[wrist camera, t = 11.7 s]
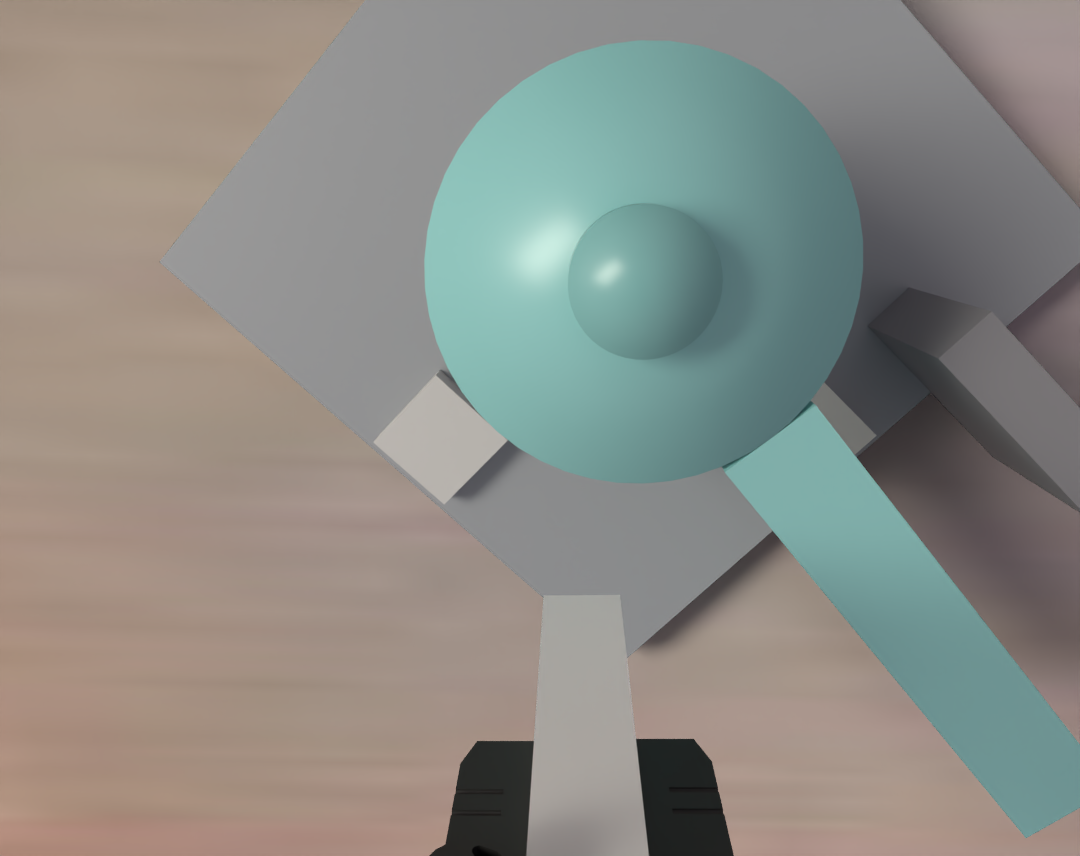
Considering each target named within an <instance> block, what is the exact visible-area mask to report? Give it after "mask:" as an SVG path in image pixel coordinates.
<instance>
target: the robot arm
mask: <svg viewBox="0 0 1080 856" xmlns="http://www.w3.org/2000/svg"><path fill="white" fill-rule="evenodd" d="M430 856H734V855H733V851H732V846H731V842H730V838H729V834H728V829H727V825H726V821H725V816H724V814H723V808H722V804H721V799H720V795H719V792H718V786H717V782H716V778H715V774H714V769H713V765H712V761H711V760H710V759H709V758H708V756H707V755H706V754H705V753H704V751H703V750H702V749H701V748H700V746H699V745H698V744H697V743H696V741H695V740H694V739H636V735H635V726H634V717H633V708H632V699H631V690H630V681H629V671H628V662H627V653H626V644H625V635H624V626H623V617H622V608H621V599H620V595H544V599H543V613H542V628H541V643H540V658H539V673H538V688H537V703H536V718H535V733H534V741H477V742H476V744H475V745H474V746H473V748H472V749H471V750H470V752H469V753H468V754H467V756H466V757H465V758H464V760H463V761H462V762H461V764H460V770H459V775H458V780H457V786H456V794H455V796H454V802H453V807H452V815H451V818H450V823H449V829H448V834H447V839H446V845H444V846H442V847H440V848H438V849H436V850H435V851H434V852H433V853H432V854H431V855H430Z"/></svg>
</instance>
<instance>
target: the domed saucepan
mask: <svg viewBox="0 0 1080 856" xmlns="http://www.w3.org/2000/svg"><path fill="white" fill-rule="evenodd" d="M424 269H425V292H426V298H427V305H428V312H429V317H430V321H431V324H432V328H433V331H434V335H435V338H436V342H437V344H438V347H439V349H440V351H441V354H442V356H443V358H444V361H445V363H446V365H447V368H448V369H449V371H450V373H451V374H452V376H453V378H454V380H455V381H456V383H457V385H458V386H459V388H460V390H461V391H462V393H463V394H464V395H465V397H466V398H467V399H468V400H469V402H470V403H471V404H472V406H473V407H474V408H475V409H476V411H477V412H478V413H479V414H480V415H481V416H482V417H483V418H484V419H485V420H486V421H487V422H488V423H489V424H490V425H491V426H492V427H493V428H494V429H495V430H496V431H497V432H498V433H500V434H501V435H502V436H504V437H505V438H506V439H507V440H509V441H510V442H511V443H513V444H514V445H515V446H517V447H518V448H519V449H521V450H523V451H525V452H526V453H528V454H530V455H531V456H533V457H535V458H537V459H538V460H540V461H542V462H544V463H547V464H549V465H551V466H554V467H556V468H558V469H561V470H563V471H566V472H569V473H573V474H576V475H580V476H583V477H587V478H590V479H596V480H603V481H609V482H615V483H642V484H644V483H655V482H666V481H673V480H678V479H682V478H687V477H691V476H696V475H699V474H702V473H705V472H708V471H711V470H713V469H716V468H719V467H722V468H723V470H724V472H725V473H726V475H727V476H728V477H729V478H730V479H731V481H732V482H733V483H734V484H735V486H736V487H737V488H738V489H739V490H740V492H741V493H742V494H743V495H744V496H745V498H746V499H747V500H748V501H749V503H750V504H751V505H752V506H753V507H754V509H755V510H756V511H757V512H758V513H759V515H760V516H761V517H762V518H763V520H764V521H765V522H766V523H767V524H768V526H769V527H770V528H771V529H772V530H773V532H774V533H775V534H776V535H777V536H778V538H779V539H780V540H781V541H782V543H783V544H784V545H785V546H786V547H787V549H788V550H789V551H790V552H791V553H792V555H793V556H794V557H795V558H796V560H797V561H798V562H799V563H800V564H801V566H802V567H803V568H804V569H805V570H806V572H807V573H808V574H809V575H810V577H811V578H812V579H813V580H814V581H815V583H816V584H817V585H818V586H819V587H820V589H821V590H822V591H823V592H824V594H825V595H826V596H827V597H828V598H829V600H830V601H831V602H832V603H833V604H834V606H835V607H836V608H837V609H838V611H839V612H840V613H841V614H842V615H843V617H844V618H845V619H846V620H847V621H848V623H849V624H850V625H851V626H852V628H853V629H854V630H855V631H856V632H857V634H858V635H859V636H860V637H861V638H862V640H863V641H864V642H865V643H866V645H867V646H868V647H869V648H870V649H871V651H872V652H873V653H874V654H875V655H876V657H877V658H878V659H879V660H880V661H881V663H882V664H883V665H884V666H885V668H886V669H887V670H888V671H889V672H890V674H891V675H892V676H893V677H894V678H895V680H896V681H897V682H898V683H899V685H900V686H901V687H902V688H903V689H904V691H905V692H906V693H907V694H908V695H909V697H910V698H911V699H912V700H913V702H914V703H915V704H916V705H917V706H918V708H919V709H920V710H921V711H922V712H923V714H924V715H925V716H926V717H927V719H928V720H929V721H930V722H931V723H932V725H933V726H934V727H935V728H936V729H937V731H938V732H939V733H940V734H941V736H942V737H943V738H944V739H945V740H946V742H947V743H948V744H949V745H950V746H951V748H952V749H953V750H954V751H955V753H956V754H957V755H958V756H959V757H960V759H961V760H962V761H963V762H964V763H965V765H966V766H967V767H968V768H969V770H970V771H971V772H972V773H973V774H974V776H975V777H976V778H977V779H978V780H979V782H980V783H981V784H982V785H983V786H984V788H985V789H986V790H987V791H988V793H989V794H990V795H991V796H992V797H993V799H994V800H995V801H996V802H997V803H998V805H999V806H1000V807H1001V808H1002V810H1003V811H1004V812H1005V813H1006V814H1007V816H1008V817H1009V818H1010V819H1011V820H1012V822H1013V823H1014V824H1015V825H1016V827H1017V828H1018V829H1019V830H1020V831H1021V833H1022V834H1023V835H1024V836H1025V837H1026V838H1027V837H1029V836H1031V835H1032V834H1034V833H1036V832H1038V831H1039V830H1041V829H1043V828H1045V827H1047V826H1048V825H1050V824H1052V823H1054V822H1055V821H1057V820H1059V819H1061V818H1063V817H1064V816H1066V815H1068V814H1070V813H1071V812H1073V811H1075V810H1077V809H1078V808H1080V744H1079V743H1078V742H1077V740H1076V739H1075V738H1074V737H1073V735H1072V734H1071V733H1070V731H1069V730H1068V729H1067V728H1066V726H1065V725H1064V724H1063V722H1062V721H1061V720H1060V719H1059V717H1058V716H1057V715H1056V713H1055V712H1054V711H1053V710H1052V708H1051V707H1050V706H1049V704H1048V703H1047V702H1046V701H1045V699H1044V698H1043V697H1042V695H1041V694H1040V693H1039V692H1038V690H1037V689H1036V688H1035V686H1034V685H1033V684H1032V683H1031V681H1030V680H1029V679H1028V677H1027V676H1026V675H1025V674H1024V672H1023V671H1022V670H1021V668H1020V667H1019V666H1018V665H1017V663H1016V662H1015V661H1014V659H1013V658H1012V657H1011V656H1010V654H1009V653H1008V652H1007V650H1006V649H1005V648H1004V647H1003V645H1002V644H1001V643H1000V641H999V640H998V639H997V638H996V636H995V635H994V634H993V632H992V631H991V630H990V629H989V627H988V626H987V625H986V623H985V622H984V621H983V620H982V618H981V617H980V616H979V614H978V613H977V612H976V611H975V609H974V608H973V607H972V605H971V604H970V603H969V602H968V600H967V599H966V598H965V596H964V595H963V594H962V593H961V591H960V590H959V589H958V587H957V586H956V585H955V584H954V582H953V581H952V580H951V578H950V577H949V576H948V575H947V573H946V572H945V571H944V569H943V568H942V567H941V566H940V564H939V563H938V562H937V560H936V559H935V558H934V557H933V555H932V554H931V553H930V551H929V550H928V549H927V548H926V546H925V545H924V544H923V542H922V541H921V540H920V539H919V537H918V536H917V535H916V533H915V532H914V531H913V530H912V528H911V527H910V526H909V524H908V523H907V522H906V521H905V519H904V518H903V517H902V515H901V514H900V513H899V512H898V510H897V509H896V508H895V506H894V505H893V504H892V503H891V501H890V500H889V499H888V497H887V496H886V495H885V494H884V492H883V491H882V490H881V488H880V487H879V486H878V485H877V483H876V482H875V481H874V479H873V478H872V477H871V476H870V474H869V473H868V472H867V470H866V469H865V468H864V467H863V465H862V464H861V463H860V461H859V460H858V459H857V458H856V456H855V455H854V454H853V452H852V451H851V450H850V449H849V447H848V446H847V445H846V443H845V442H844V441H843V440H842V438H841V437H840V436H839V434H838V433H837V432H836V431H835V429H834V428H833V427H832V425H831V424H830V423H829V422H828V420H827V419H826V418H825V416H824V415H823V414H822V413H821V411H820V410H819V409H818V407H817V406H816V405H815V404H814V403H813V402H812V401H811V400H812V398H813V397H814V395H815V394H816V393H817V391H818V390H819V389H820V387H821V386H822V385H823V383H824V382H825V380H826V379H827V378H828V376H829V374H830V372H831V370H832V369H833V367H834V365H835V363H836V361H837V360H838V358H839V356H840V354H841V352H842V350H843V347H844V345H845V342H846V340H847V337H848V335H849V332H850V330H851V327H852V324H853V320H854V317H855V313H856V309H857V305H858V301H859V297H860V289H861V281H862V274H863V236H862V228H861V221H860V214H859V208H858V205H857V201H856V198H855V194H854V190H853V187H852V183H851V180H850V178H849V176H848V173H847V171H846V169H845V166H844V164H843V162H842V159H841V157H840V155H839V153H838V151H837V150H836V148H835V146H834V145H833V143H832V142H831V140H830V138H829V137H828V135H827V133H826V132H825V130H824V128H823V127H822V126H821V125H820V124H819V122H818V121H817V120H816V119H815V118H814V116H813V115H812V114H811V113H810V112H809V110H808V109H807V108H806V107H805V105H803V104H802V103H801V102H800V101H799V100H798V99H797V98H796V97H795V96H794V95H792V94H791V93H790V92H789V91H788V90H787V89H786V88H785V87H784V86H783V85H781V84H780V83H778V82H777V81H775V80H774V79H772V78H771V77H769V76H768V75H766V74H765V73H763V72H762V71H760V70H759V69H757V68H756V67H754V66H752V65H749V64H747V63H745V62H743V61H741V60H739V59H737V58H735V57H733V56H731V55H728V54H725V53H722V52H719V51H715V50H712V49H709V48H706V47H703V46H699V45H693V44H686V43H680V42H674V41H648V40H637V41H629V42H622V43H614V44H607V45H603V46H600V47H596V48H592V49H589V50H585V51H581V52H578V53H575V54H573V55H571V56H568V57H566V58H564V59H561V60H559V61H557V62H554V63H552V64H550V65H548V66H546V67H545V68H543V69H541V70H540V71H538V72H536V73H535V74H533V75H531V76H530V77H528V78H526V79H525V80H523V81H522V82H520V83H519V84H518V85H517V86H515V87H514V88H513V89H512V90H511V91H509V92H508V93H507V94H506V95H504V96H503V97H502V98H501V99H499V100H498V101H497V102H496V103H495V104H494V105H493V106H492V108H491V109H490V110H489V111H488V112H487V113H486V114H485V115H484V116H483V117H482V118H481V119H480V120H479V121H478V122H477V124H476V125H475V126H474V128H473V129H472V130H471V132H470V133H469V135H468V136H467V137H466V139H465V140H464V142H463V143H462V144H461V146H460V147H459V149H458V151H457V153H456V154H455V156H454V158H453V160H452V162H451V164H450V165H449V167H448V169H447V171H446V173H445V175H444V178H443V180H442V183H441V186H440V188H439V191H438V193H437V196H436V199H435V201H434V205H433V209H432V213H431V218H430V222H429V226H428V230H427V239H426V248H425V257H424Z"/></svg>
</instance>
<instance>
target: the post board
mask: <svg viewBox="0 0 1080 856" xmlns="http://www.w3.org/2000/svg"><path fill="white" fill-rule="evenodd" d="M637 40H648V41H674V42H680V43H686V44H693V45H699V46H703V47H706V48H709V49H712V50H715V51H719V52H722V53H725V54H728V55H731V56H733V57H735V58H737V59H739V60H741V61H743V62H745V63H747V64H749V65H752V66H754V67H756V68H757V69H759V70H760V71H762V72H763V73H765V74H766V75H768V76H769V77H771V78H772V79H774V80H775V81H777V82H778V83H780V84H781V85H783V86H784V87H785V88H786V89H787V90H788V91H789V92H790V93H791V94H792V95H794V96H795V97H796V98H797V99H798V100H799V101H800V102H801V103H802V104H803V105H805V107H806V108H807V109H808V110H809V112H810V113H811V114H812V115H813V116H814V118H815V119H816V120H817V121H818V122H819V124H820V125H821V126H822V127H823V128H824V130H825V132H826V133H827V135H828V137H829V138H830V140H831V142H832V143H833V145H834V146H835V148H836V150H837V151H838V153H839V155H840V157H841V159H842V162H843V164H844V166H845V169H846V171H847V173H848V176H849V178H850V180H851V183H852V187H853V190H854V194H855V198H856V201H857V205H858V208H859V214H860V221H861V228H862V236H863V274H862V281H861V289H860V297H859V301H858V305H857V309H856V313H855V317H854V320H853V324H852V327H851V330H850V332H849V335H848V337H847V340H846V342H845V345H844V347H843V350H842V352H841V354H840V356H839V358H838V360H837V361H836V363H835V365H834V367H833V369H832V370H831V372H830V374H829V376H828V378H827V379H826V380H825V382H824V383H823V385H822V386H821V387H820V389H819V390H818V391H817V393H816V394H815V395H814V397H813V398H812V400H811V401H812V402H813V403H814V404H815V405H816V406H817V407H818V409H819V410H820V411H821V413H822V414H823V415H824V416H825V418H826V419H827V420H828V422H829V423H830V424H831V425H832V427H833V428H834V429H835V431H836V432H837V433H838V434H839V436H840V437H841V438H842V440H843V441H844V442H845V443H846V445H847V446H848V447H849V449H850V450H851V451H852V452H853V454H854V455H855V456H856V458H857V457H858V456H859V455H860V454H861V453H862V452H863V451H865V450H866V449H867V448H868V447H869V446H870V445H871V444H873V443H874V442H875V441H876V440H877V439H878V438H879V437H881V436H882V435H883V434H884V433H885V432H886V431H887V430H889V429H890V428H891V427H892V426H893V425H894V424H895V423H897V422H898V421H899V420H900V419H901V418H902V417H903V416H905V415H906V414H907V413H908V412H909V411H910V410H911V409H913V408H914V407H915V406H916V405H917V404H918V403H919V402H921V401H922V400H923V399H924V398H925V397H926V396H927V395H929V394H930V393H932V394H933V395H934V396H935V397H936V398H937V399H938V400H939V401H940V402H941V403H942V404H943V405H944V406H945V408H946V409H947V410H948V411H949V412H950V413H951V414H952V415H953V416H954V417H955V418H956V419H957V420H958V421H959V422H960V423H961V424H962V425H963V426H964V427H965V428H966V430H967V431H968V432H969V433H970V434H971V435H972V436H973V437H974V438H975V439H976V440H977V441H978V442H979V443H980V444H981V445H982V446H983V447H984V448H985V449H986V450H987V452H988V453H989V454H990V455H991V456H992V457H994V458H995V459H997V460H999V461H1000V462H1002V463H1003V464H1005V465H1006V466H1008V467H1010V468H1011V469H1013V470H1014V471H1016V472H1017V473H1019V474H1020V475H1022V476H1024V477H1025V478H1027V479H1028V480H1030V481H1031V482H1033V483H1035V484H1036V485H1038V486H1039V487H1041V488H1042V489H1044V490H1046V491H1047V492H1049V493H1050V494H1052V495H1053V496H1055V497H1057V498H1058V499H1060V500H1061V501H1063V502H1064V503H1066V504H1068V505H1069V506H1071V507H1072V508H1074V509H1075V510H1077V511H1079V512H1080V407H1079V406H1078V405H1077V404H1076V403H1075V402H1074V401H1073V400H1072V399H1071V398H1070V397H1069V395H1068V394H1067V393H1066V392H1065V391H1064V390H1063V389H1062V388H1061V387H1060V386H1059V384H1058V383H1057V382H1056V381H1055V380H1054V379H1053V378H1052V377H1051V376H1050V375H1049V374H1048V372H1047V371H1046V370H1045V369H1044V368H1043V367H1042V366H1041V365H1040V364H1039V363H1038V362H1037V360H1036V359H1035V358H1034V357H1033V356H1032V355H1031V354H1030V353H1029V352H1028V351H1027V349H1026V348H1025V347H1024V346H1023V345H1022V344H1021V343H1020V342H1019V341H1018V340H1017V339H1016V337H1015V336H1014V335H1013V334H1012V333H1011V332H1010V331H1009V330H1008V329H1007V328H1006V326H1008V325H1009V324H1010V323H1011V322H1012V321H1013V320H1014V319H1016V318H1017V317H1018V316H1019V315H1020V314H1021V313H1022V312H1024V311H1025V310H1026V309H1027V308H1028V307H1029V306H1030V305H1032V304H1033V303H1034V302H1035V301H1036V300H1037V299H1038V298H1040V297H1041V296H1042V295H1043V294H1044V293H1045V292H1046V291H1048V290H1049V289H1050V288H1051V287H1052V286H1053V285H1055V284H1056V283H1057V282H1058V281H1059V280H1060V279H1061V278H1063V277H1064V276H1065V275H1066V274H1067V273H1068V272H1069V271H1071V270H1072V269H1073V268H1074V267H1075V266H1076V265H1077V264H1079V263H1080V208H1079V207H1078V206H1077V205H1076V203H1075V202H1074V201H1073V200H1072V199H1071V198H1070V196H1069V195H1068V194H1067V193H1066V192H1065V191H1064V189H1063V188H1062V187H1061V186H1060V185H1059V184H1058V182H1057V181H1056V180H1055V179H1054V178H1053V177H1052V176H1051V174H1050V173H1049V172H1048V171H1047V170H1046V169H1045V167H1044V166H1043V165H1042V164H1041V163H1040V162H1039V160H1038V159H1037V158H1036V157H1035V156H1034V155H1033V153H1032V152H1031V151H1030V150H1029V149H1028V148H1027V146H1026V145H1025V144H1024V143H1023V142H1022V141H1021V140H1020V138H1019V137H1018V136H1017V135H1016V134H1015V133H1014V131H1013V130H1012V129H1011V128H1010V127H1009V126H1008V124H1007V123H1006V122H1005V121H1004V120H1003V119H1002V117H1001V116H1000V115H999V114H998V113H997V112H996V110H995V109H994V108H993V107H992V106H991V105H990V104H989V102H988V101H987V100H986V99H985V98H984V97H983V95H982V94H981V93H980V92H979V91H978V90H977V88H976V87H975V86H974V85H973V84H972V83H971V81H970V80H969V79H968V78H967V77H966V76H965V74H964V73H963V72H962V71H961V70H960V69H959V68H958V66H957V65H956V64H955V63H954V62H953V61H952V59H951V58H950V57H949V56H948V55H947V54H946V52H945V51H944V50H943V49H942V48H941V47H940V45H939V44H938V43H937V42H936V41H935V40H934V38H933V37H932V36H931V35H930V34H929V33H928V32H927V30H926V29H925V28H924V27H923V26H922V25H921V23H920V22H919V21H918V20H917V19H916V18H915V16H914V15H913V14H912V13H911V12H910V11H909V9H908V8H907V7H906V6H905V5H904V4H903V2H902V1H901V0H365V1H364V3H363V4H362V5H361V6H360V8H359V9H358V10H357V11H356V13H355V14H354V15H353V17H352V18H351V19H350V20H349V22H348V23H347V24H346V25H345V27H344V28H343V29H342V30H341V32H340V33H339V34H338V36H337V37H336V38H335V39H334V41H333V42H332V43H331V44H330V46H329V47H328V48H327V50H326V51H325V52H324V53H323V55H322V56H321V57H320V58H319V60H318V61H317V62H316V64H315V65H314V66H313V67H312V69H311V70H310V71H309V72H308V74H307V75H306V76H305V78H304V79H303V80H302V81H301V83H300V84H299V85H298V86H297V88H296V89H295V90H294V92H293V93H292V94H291V95H290V97H289V98H288V99H287V100H286V102H285V103H284V104H283V106H282V107H281V108H280V109H279V111H278V112H277V113H276V114H275V116H274V117H273V118H272V120H271V121H270V122H269V123H268V125H267V126H266V127H265V128H264V130H263V131H262V132H261V133H260V135H259V136H258V137H257V139H256V140H255V141H254V142H253V144H252V145H251V146H250V147H249V149H248V150H247V151H246V153H245V154H244V155H243V156H242V158H241V159H240V160H239V161H238V163H237V164H236V165H235V167H234V168H233V169H232V170H231V172H230V173H229V174H228V175H227V177H226V178H225V179H224V181H223V182H222V183H221V184H220V186H219V187H218V188H217V189H216V191H215V192H214V193H213V195H212V196H211V197H210V198H209V200H208V201H207V202H206V203H205V205H204V206H203V207H202V209H201V210H200V211H199V212H198V214H197V215H196V216H195V217H194V219H193V220H192V221H191V223H190V224H189V225H188V226H187V228H186V229H185V230H184V231H183V233H182V234H181V235H180V237H179V238H178V239H177V240H176V242H175V243H174V244H173V245H172V247H171V248H170V249H169V250H168V252H167V253H166V254H165V256H164V257H163V258H162V259H161V261H160V263H161V264H162V265H163V266H164V267H166V268H167V269H168V270H169V271H170V272H171V273H172V274H174V275H175V276H176V277H177V278H178V279H179V280H180V281H182V282H183V283H184V284H185V285H186V286H187V287H188V288H190V289H191V290H192V291H193V292H194V293H195V294H196V295H198V296H199V297H200V298H201V299H202V300H203V301H204V302H206V303H207V304H208V305H209V306H210V307H211V308H212V309H214V310H215V311H216V312H217V313H218V314H219V315H220V316H222V317H223V318H224V319H225V320H226V321H227V322H228V323H230V324H231V325H232V326H233V327H234V328H235V329H236V330H238V331H239V332H240V333H241V334H242V335H243V336H244V337H246V338H247V339H248V340H249V341H250V342H251V343H252V344H254V345H255V346H256V347H257V348H258V349H259V350H260V351H262V352H263V353H264V354H265V355H266V356H267V357H268V358H270V359H271V360H272V361H273V362H274V363H275V364H276V365H278V366H279V367H280V368H281V369H282V370H283V371H284V372H286V373H287V374H288V375H289V376H290V377H291V378H292V379H294V380H295V381H296V382H297V383H298V384H299V385H300V386H302V387H303V388H304V389H305V390H306V391H307V392H308V393H310V394H311V395H312V396H313V397H314V398H315V399H316V400H318V401H319V402H320V403H321V404H322V405H323V406H325V407H326V408H327V409H328V410H329V411H330V412H331V413H333V414H334V415H335V416H336V417H337V418H338V419H339V420H341V421H342V422H343V423H344V424H345V425H346V426H347V427H349V428H350V429H351V430H352V431H353V432H354V433H355V434H357V435H358V436H359V437H360V438H361V439H362V440H363V441H365V442H366V443H367V444H368V445H369V446H370V447H371V448H373V449H374V450H375V451H376V452H377V453H378V454H379V455H381V456H382V457H383V458H384V459H385V460H386V461H387V462H389V463H390V464H391V465H392V466H393V467H394V468H395V469H397V470H398V471H399V472H400V473H401V474H402V475H403V476H405V477H406V478H407V479H408V480H409V481H410V482H411V483H413V484H414V485H415V486H416V487H417V488H418V489H419V490H421V491H422V492H423V493H424V494H425V495H426V496H427V497H429V498H430V499H431V500H432V501H433V502H434V503H435V504H437V505H438V506H439V507H440V508H441V509H442V510H443V511H445V512H446V513H447V514H448V515H449V516H450V517H451V518H453V519H454V520H455V521H456V522H457V523H458V524H459V525H461V526H462V527H463V528H464V529H465V530H466V531H467V532H469V533H470V534H471V535H472V536H473V537H474V538H475V539H477V540H478V541H479V542H480V543H481V544H482V545H483V546H485V547H486V548H487V549H488V550H489V551H490V552H491V553H493V554H494V555H495V556H496V557H497V558H498V559H499V560H501V561H502V562H503V563H504V564H505V565H506V566H507V567H509V568H510V569H511V570H512V571H513V572H514V573H515V574H517V575H518V576H519V577H520V578H521V579H522V580H523V581H525V582H526V583H527V584H528V585H529V586H530V587H531V588H533V589H534V590H535V591H536V592H537V593H538V594H539V595H541V596H542V597H543V598H544V595H620V599H621V608H622V617H623V626H624V635H625V644H626V653H627V658H628V657H629V656H630V655H631V654H632V653H633V652H635V651H636V650H637V649H638V648H639V647H640V646H641V645H643V644H644V643H645V642H646V641H647V640H648V639H649V638H651V637H652V636H653V635H654V634H655V633H656V632H657V631H659V630H660V629H661V628H662V627H663V626H664V625H665V624H667V623H668V622H669V621H670V620H671V619H672V618H673V617H675V616H676V615H677V614H678V613H679V612H680V611H681V610H683V609H684V608H685V607H686V606H687V605H688V604H689V603H691V602H692V601H693V600H694V599H695V598H696V597H697V596H699V595H700V594H701V593H702V592H703V591H704V590H705V589H707V588H708V587H709V586H710V585H711V584H712V583H714V582H715V581H716V580H717V579H718V578H719V577H720V576H722V575H723V574H724V573H725V572H726V571H727V570H728V569H730V568H731V567H732V566H733V565H734V564H735V563H736V562H738V561H739V560H740V559H741V558H742V557H743V556H744V555H746V554H747V553H748V552H749V551H750V550H751V549H752V548H754V547H755V546H756V545H757V544H758V543H759V542H760V541H762V540H763V539H764V538H765V537H766V536H767V535H768V534H770V533H771V532H772V531H773V530H772V529H771V528H770V527H769V526H768V524H767V523H766V522H765V521H764V520H763V518H762V517H761V516H760V515H759V513H758V512H757V511H756V510H755V509H754V507H753V506H752V505H751V504H750V503H749V501H748V500H747V499H746V498H745V496H744V495H743V494H742V493H741V492H740V490H739V489H738V488H737V487H736V486H735V484H734V483H733V482H732V481H731V479H730V478H729V477H728V476H727V475H726V473H725V472H724V470H723V468H722V467H719V468H716V469H713V470H711V471H708V472H705V473H702V474H699V475H696V476H691V477H687V478H682V479H678V480H673V481H666V482H655V483H644V484H642V483H615V482H609V481H603V480H596V479H590V478H587V477H583V476H580V475H576V474H573V473H569V472H566V471H563V470H561V469H558V468H556V467H554V466H551V465H549V464H547V463H544V462H542V461H540V460H538V459H537V458H535V457H533V456H531V455H530V454H528V453H526V452H525V451H523V450H521V449H519V448H518V447H517V446H515V445H514V444H513V443H511V442H510V441H509V440H507V439H506V438H505V437H504V436H502V435H501V434H500V433H498V432H497V431H496V430H495V429H494V428H493V427H492V426H491V425H490V424H489V423H488V422H487V421H486V420H485V419H484V418H483V417H482V416H481V415H480V414H479V413H478V412H477V411H476V409H475V408H474V407H473V406H472V404H471V403H470V402H469V400H468V399H467V398H466V397H465V395H464V394H463V393H462V391H461V390H460V388H459V386H458V385H457V383H456V381H455V380H454V378H453V376H452V374H451V373H450V371H449V369H448V368H447V365H446V363H445V361H444V358H443V356H442V354H441V351H440V349H439V347H438V344H437V342H436V338H435V335H434V331H433V328H432V324H431V321H430V317H429V312H428V305H427V298H426V292H425V269H424V257H425V248H426V239H427V230H428V226H429V222H430V218H431V213H432V209H433V205H434V201H435V199H436V196H437V193H438V191H439V188H440V186H441V183H442V180H443V178H444V175H445V173H446V171H447V169H448V167H449V165H450V164H451V162H452V160H453V158H454V156H455V154H456V153H457V151H458V149H459V147H460V146H461V144H462V143H463V142H464V140H465V139H466V137H467V136H468V135H469V133H470V132H471V130H472V129H473V128H474V126H475V125H476V124H477V122H478V121H479V120H480V119H481V118H482V117H483V116H484V115H485V114H486V113H487V112H488V111H489V110H490V109H491V108H492V106H493V105H494V104H495V103H496V102H497V101H498V100H499V99H501V98H502V97H503V96H504V95H506V94H507V93H508V92H509V91H511V90H512V89H513V88H514V87H515V86H517V85H518V84H519V83H520V82H522V81H523V80H525V79H526V78H528V77H530V76H531V75H533V74H535V73H536V72H538V71H540V70H541V69H543V68H545V67H546V66H548V65H550V64H552V63H554V62H557V61H559V60H561V59H564V58H566V57H568V56H571V55H573V54H575V53H578V52H581V51H585V50H589V49H592V48H596V47H600V46H603V45H607V44H614V43H622V42H629V41H637Z"/></svg>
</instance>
